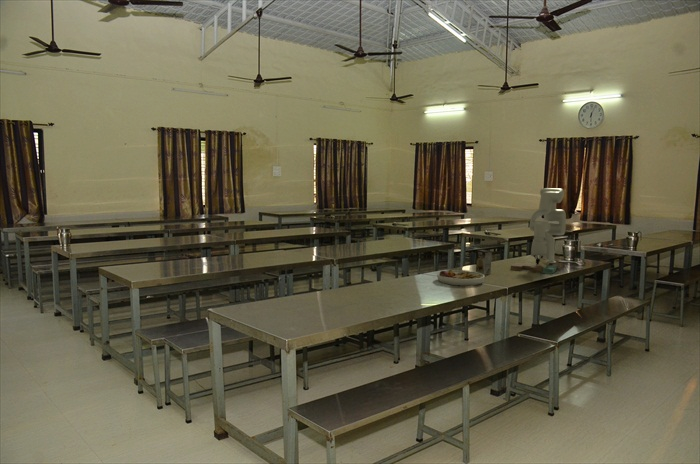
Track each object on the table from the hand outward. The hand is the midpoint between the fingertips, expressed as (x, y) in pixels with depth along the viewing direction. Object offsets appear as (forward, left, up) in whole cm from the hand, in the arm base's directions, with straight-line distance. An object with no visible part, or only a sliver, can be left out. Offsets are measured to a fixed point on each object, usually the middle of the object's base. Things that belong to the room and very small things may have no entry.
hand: (538, 264), depth 386 cm
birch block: (+1, +4, -1) cm, 4 cm away
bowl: (+71, -35, -5) cm, 79 cm away
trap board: (0, -3, -4) cm, 5 cm away
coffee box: (+33, -31, -5) cm, 45 cm away
